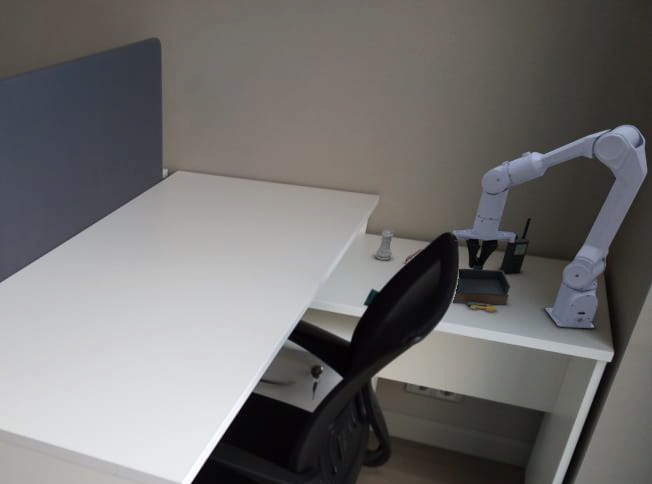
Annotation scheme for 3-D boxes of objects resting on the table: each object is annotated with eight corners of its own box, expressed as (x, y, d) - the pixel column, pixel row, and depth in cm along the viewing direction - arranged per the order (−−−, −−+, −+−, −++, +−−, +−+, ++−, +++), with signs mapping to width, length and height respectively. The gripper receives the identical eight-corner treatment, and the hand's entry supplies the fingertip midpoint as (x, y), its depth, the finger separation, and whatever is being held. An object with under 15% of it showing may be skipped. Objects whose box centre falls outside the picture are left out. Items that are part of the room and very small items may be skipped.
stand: (505, 304, 182) (508, 295, 181) (451, 302, 184) (454, 293, 183) (496, 291, 189) (499, 283, 187) (444, 289, 190) (447, 280, 189)
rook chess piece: (372, 255, 210) (377, 228, 206) (387, 254, 211) (392, 228, 206) (378, 261, 207) (383, 234, 202) (393, 260, 207) (399, 233, 203)
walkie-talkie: (505, 274, 198) (521, 221, 190) (498, 269, 201) (513, 216, 193) (521, 272, 199) (537, 219, 191) (514, 267, 202) (530, 215, 193)
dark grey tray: (506, 295, 181) (512, 281, 178) (456, 293, 182) (461, 279, 180) (495, 270, 189) (500, 257, 186) (447, 268, 190) (452, 255, 188)
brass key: (495, 310, 178) (494, 312, 179) (495, 306, 180) (494, 308, 180) (470, 307, 180) (470, 309, 181) (470, 303, 182) (470, 305, 182)
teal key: (469, 304, 181) (469, 302, 181) (465, 303, 183) (466, 301, 183) (490, 306, 181) (491, 304, 180) (487, 305, 183) (487, 303, 182)
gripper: (514, 211, 182) (500, 262, 190) (454, 209, 184) (442, 259, 191) (523, 221, 177) (508, 272, 184) (461, 219, 178) (448, 270, 186)
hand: (475, 266), depth 187 cm, fingers closed on dark grey tray, 2 cm apart
